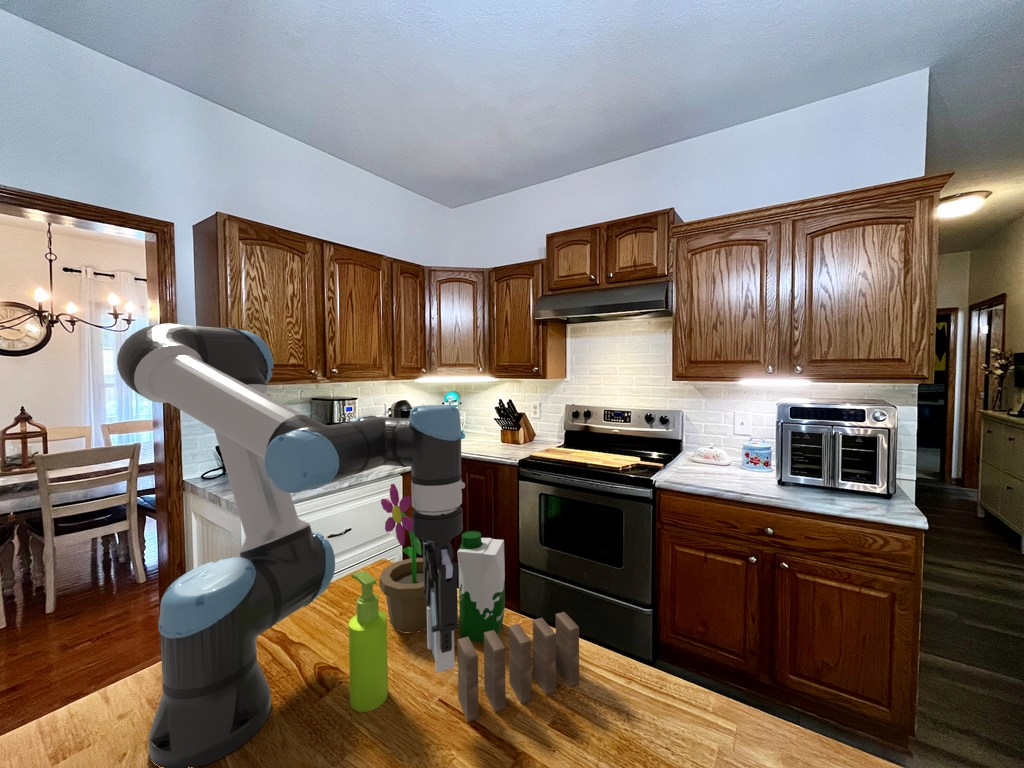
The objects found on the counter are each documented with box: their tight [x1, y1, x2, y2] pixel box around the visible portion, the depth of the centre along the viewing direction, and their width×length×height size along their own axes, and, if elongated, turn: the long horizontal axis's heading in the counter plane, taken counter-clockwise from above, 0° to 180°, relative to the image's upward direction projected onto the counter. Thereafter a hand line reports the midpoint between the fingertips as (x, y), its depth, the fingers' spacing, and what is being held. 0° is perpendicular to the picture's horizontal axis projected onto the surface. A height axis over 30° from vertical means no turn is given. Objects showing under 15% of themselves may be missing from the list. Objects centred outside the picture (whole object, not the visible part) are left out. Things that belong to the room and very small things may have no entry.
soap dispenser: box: [348, 570, 389, 712], centre depth 70 cm, size 6×7×20 cm
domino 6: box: [555, 611, 580, 688], centre depth 75 cm, size 2×5×10 cm, turn 23°
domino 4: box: [508, 623, 532, 705], centre depth 71 cm, size 2×5×10 cm, turn 23°
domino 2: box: [457, 637, 479, 723], centre depth 68 cm, size 2×5×10 cm, turn 23°
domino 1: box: [431, 588, 436, 659], centre depth 66 cm, size 2×5×10 cm, turn 23°
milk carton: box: [456, 530, 506, 643], centre depth 87 cm, size 9×9×20 cm
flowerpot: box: [378, 483, 429, 633], centre depth 92 cm, size 14×14×30 cm
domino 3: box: [483, 630, 507, 713], centre depth 70 cm, size 2×5×10 cm, turn 23°
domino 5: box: [532, 617, 557, 696], centre depth 73 cm, size 2×5×10 cm, turn 23°
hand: (440, 656), depth 66 cm, fingers closed on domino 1, 5 cm apart
